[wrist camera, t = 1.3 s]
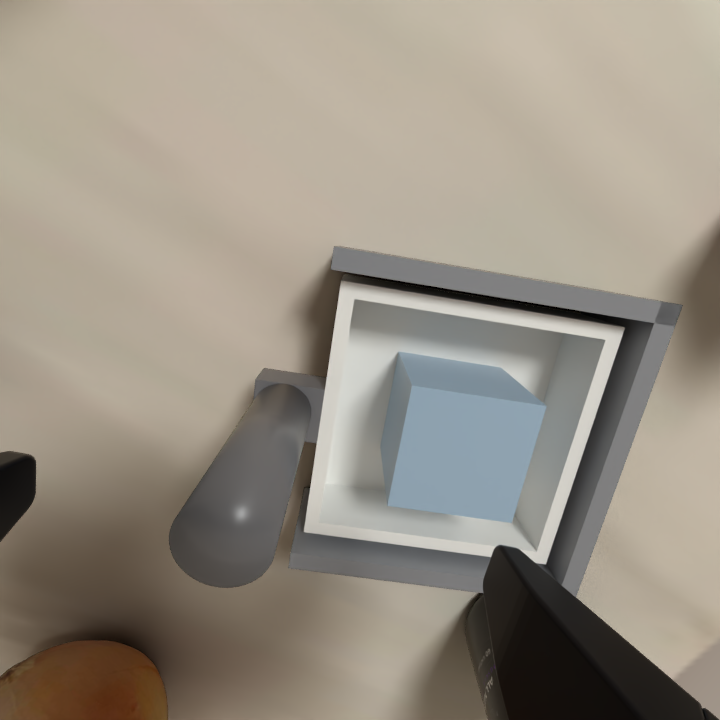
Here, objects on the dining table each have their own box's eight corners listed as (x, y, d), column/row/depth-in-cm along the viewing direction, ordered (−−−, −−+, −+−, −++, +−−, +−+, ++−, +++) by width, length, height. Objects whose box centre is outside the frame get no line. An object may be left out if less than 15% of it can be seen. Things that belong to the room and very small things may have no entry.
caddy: (259, 477, 22) (159, 718, 11) (283, 264, 19) (181, 290, 8) (515, 513, 23) (670, 773, 12) (575, 312, 20) (861, 398, 9)
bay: (302, 500, 23) (288, 567, 18) (339, 246, 19) (334, 246, 15) (528, 531, 24) (573, 604, 19) (604, 290, 20) (682, 304, 15)
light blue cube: (380, 446, 21) (387, 506, 16) (398, 351, 20) (412, 385, 15) (476, 460, 21) (511, 523, 16) (501, 367, 20) (546, 406, 15)
